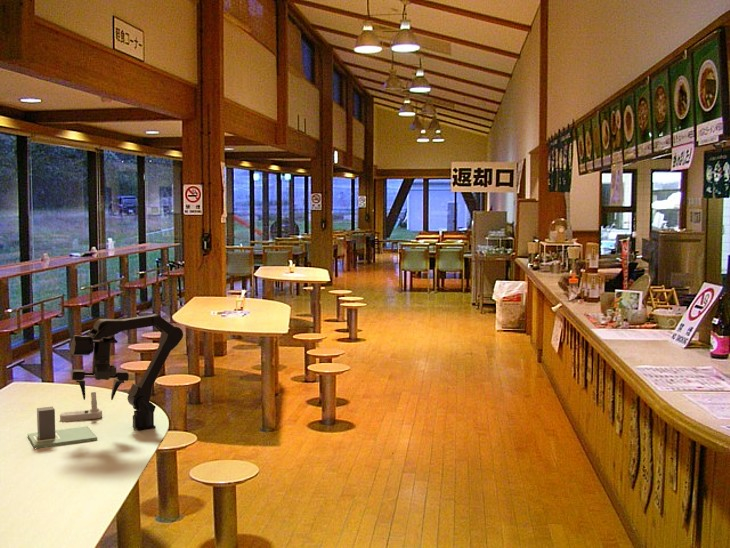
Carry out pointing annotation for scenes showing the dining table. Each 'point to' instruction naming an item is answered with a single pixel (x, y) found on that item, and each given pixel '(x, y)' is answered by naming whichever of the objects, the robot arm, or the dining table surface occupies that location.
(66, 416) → the beige bar with post
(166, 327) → the robot arm
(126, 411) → the dining table surface
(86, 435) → the board
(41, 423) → the plug block
